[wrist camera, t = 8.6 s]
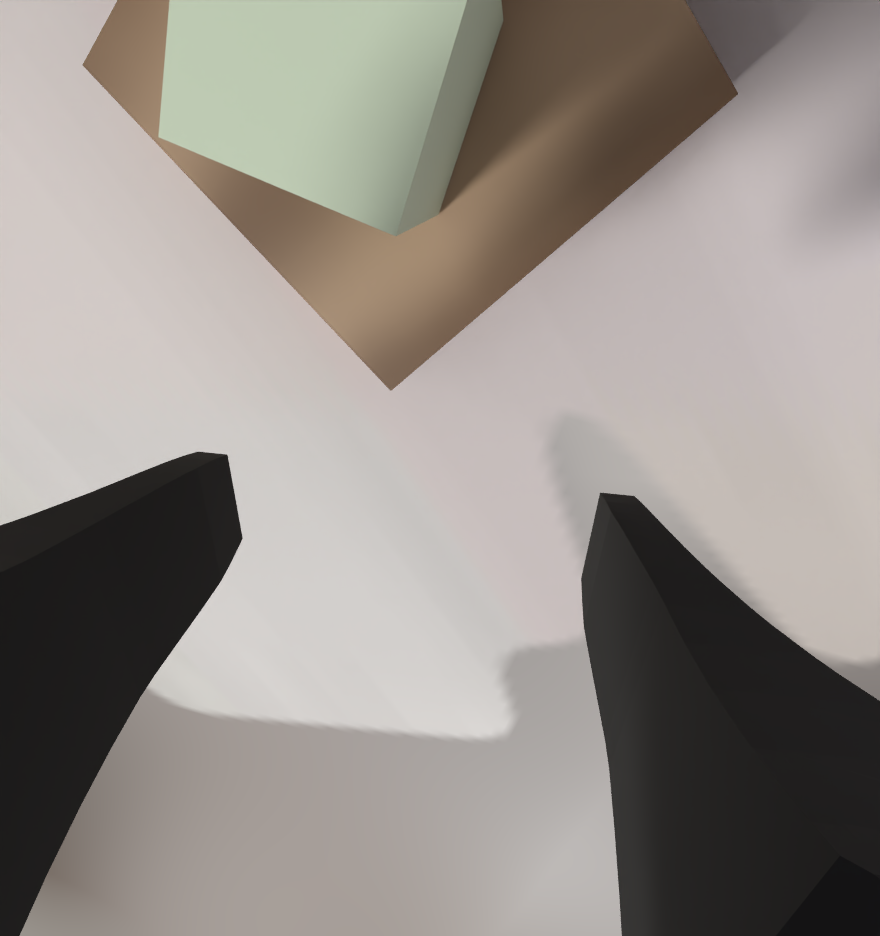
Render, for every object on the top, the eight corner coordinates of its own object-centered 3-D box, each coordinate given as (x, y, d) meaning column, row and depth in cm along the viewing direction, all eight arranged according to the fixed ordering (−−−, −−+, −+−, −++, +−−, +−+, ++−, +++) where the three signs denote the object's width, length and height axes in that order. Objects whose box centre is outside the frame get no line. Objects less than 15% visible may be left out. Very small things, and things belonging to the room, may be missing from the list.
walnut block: (701, 105, 16) (737, 94, 13) (407, 362, 20) (390, 390, 18) (422, -366, 12) (395, -511, 9) (149, 80, 17) (82, 64, 14)
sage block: (503, 20, 13) (492, -86, 8) (438, 214, 15) (395, 236, 10) (325, -61, 13) (188, -227, 7) (285, 150, 15) (158, 136, 10)
